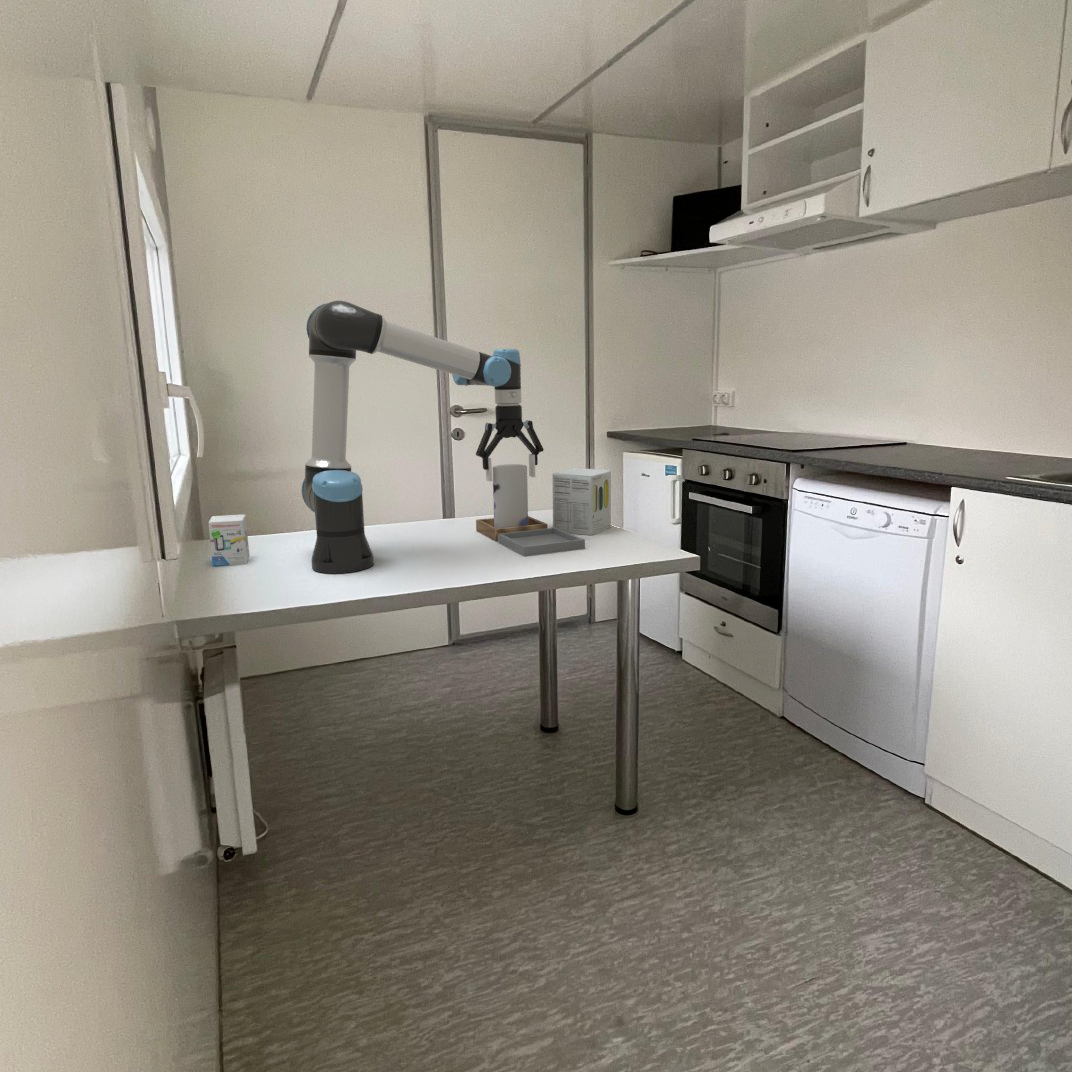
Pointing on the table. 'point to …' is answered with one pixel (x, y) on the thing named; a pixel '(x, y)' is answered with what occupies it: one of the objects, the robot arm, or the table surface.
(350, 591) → the table surface
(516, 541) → the tray
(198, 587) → the table surface
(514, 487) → the container
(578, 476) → the supplement box
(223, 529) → the ink box
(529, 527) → the frame
